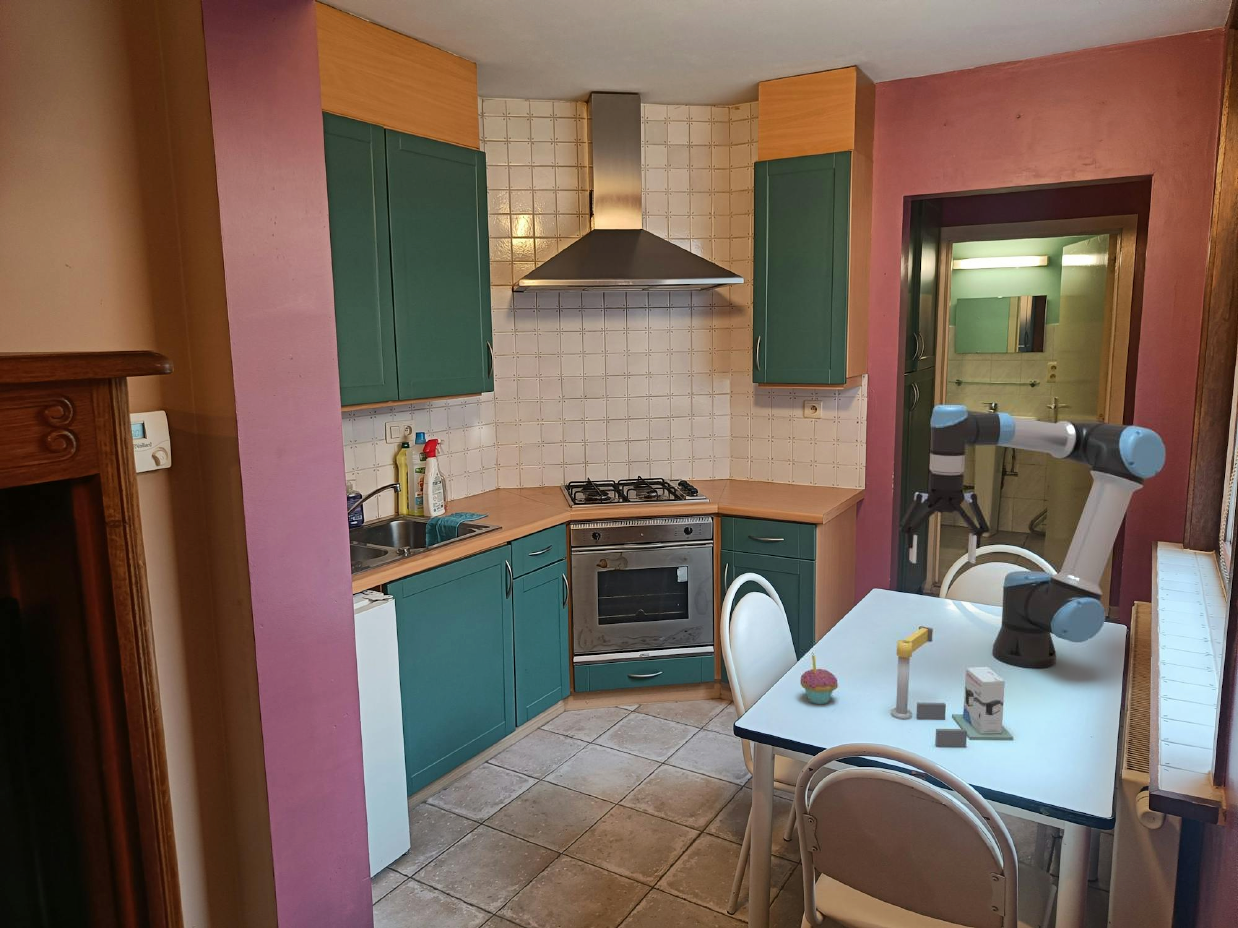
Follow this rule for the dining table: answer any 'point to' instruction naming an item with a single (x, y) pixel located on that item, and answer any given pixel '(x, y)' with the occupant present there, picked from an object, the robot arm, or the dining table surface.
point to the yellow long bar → (914, 642)
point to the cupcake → (818, 684)
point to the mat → (975, 735)
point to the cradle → (924, 710)
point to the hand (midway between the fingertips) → (941, 561)
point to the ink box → (984, 700)
